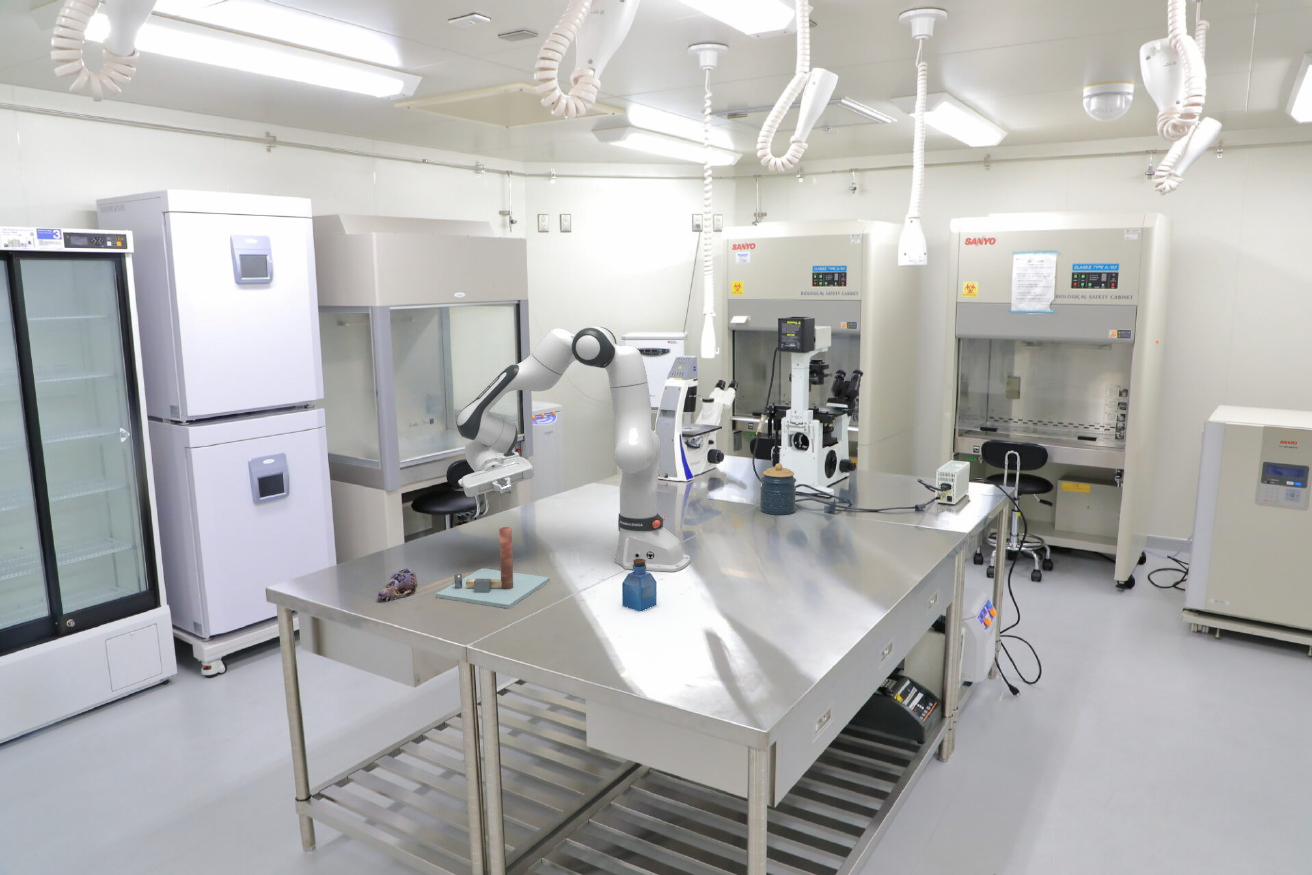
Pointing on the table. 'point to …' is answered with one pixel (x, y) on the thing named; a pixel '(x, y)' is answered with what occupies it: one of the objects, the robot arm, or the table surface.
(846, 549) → the table surface
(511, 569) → the brown piece
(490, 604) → the board
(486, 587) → the block
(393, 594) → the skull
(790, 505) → the canister
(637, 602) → the perfume bottle
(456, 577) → the hinge pin
